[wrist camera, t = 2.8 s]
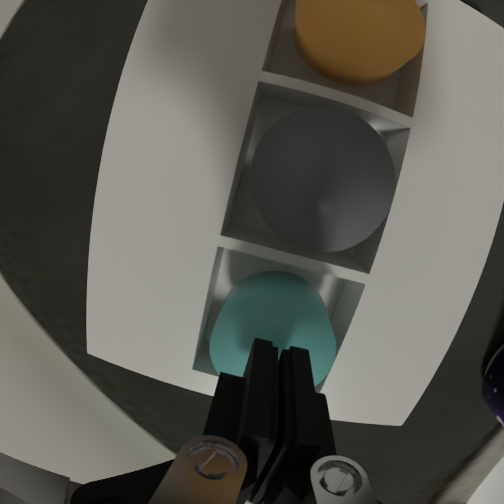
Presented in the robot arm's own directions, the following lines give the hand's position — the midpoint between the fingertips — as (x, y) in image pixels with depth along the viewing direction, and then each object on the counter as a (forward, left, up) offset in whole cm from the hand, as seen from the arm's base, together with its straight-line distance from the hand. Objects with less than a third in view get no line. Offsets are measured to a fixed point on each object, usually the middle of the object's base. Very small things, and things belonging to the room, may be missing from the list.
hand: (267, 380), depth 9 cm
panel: (-6, 0, -6) cm, 9 cm away
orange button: (-12, 0, -4) cm, 13 cm away
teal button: (0, 0, -4) cm, 4 cm away
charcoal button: (-6, 0, -4) cm, 7 cm away
